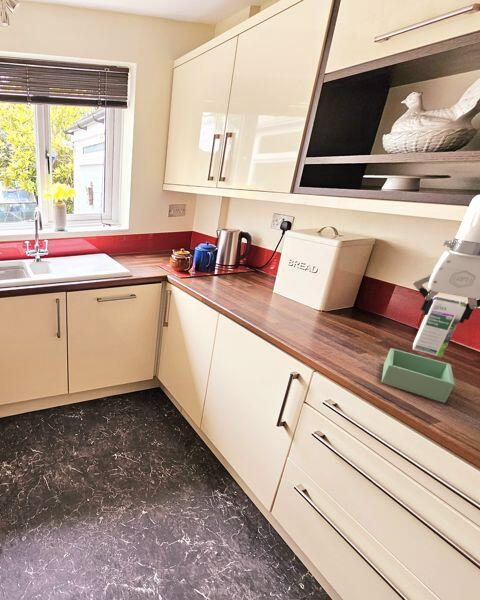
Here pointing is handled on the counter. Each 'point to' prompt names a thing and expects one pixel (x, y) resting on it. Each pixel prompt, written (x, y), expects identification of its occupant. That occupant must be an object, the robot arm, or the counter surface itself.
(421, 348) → the syrup box
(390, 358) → the bin
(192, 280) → the counter surface
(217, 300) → the counter surface
